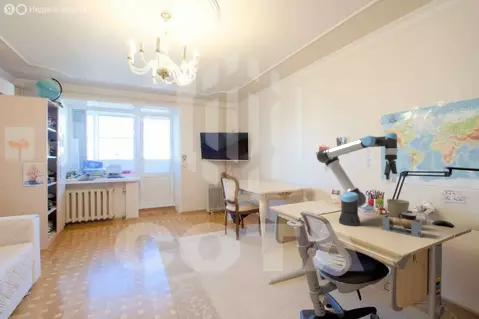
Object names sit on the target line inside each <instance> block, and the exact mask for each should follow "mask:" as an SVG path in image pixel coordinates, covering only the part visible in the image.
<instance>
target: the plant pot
mask: <svg viewBox="0 0 479 319" xmlns="http://www.w3.org/2000/svg"><path fill="white" fill-rule="evenodd" d="M386 203H387V208H388V211H389V212H388V213H389V215H390V216H393V217H395V218H399V214H400V218H401V219H402V215H401V214H402V213H408V211H409V206H410V201H408V200H405V199H399V198H398V199H396V198H392V199H391V198H388V199H386Z"/></svg>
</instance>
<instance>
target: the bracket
mask: <svg viewBox="0 0 479 319" xmlns="http://www.w3.org/2000/svg"><path fill="white" fill-rule="evenodd" d="M388 217H393V216H390V214H385V215H383V216H382V218H381V220H382V222H381V223H382V225H383V227H381V230H382V231H387V232H391V233H398V234H402V235H406V236H412V237H417V238H421V237H423V236H424V232H422V230H423V227H424V226H423V222H424V221H423V220H421V219H416V220H414V221H418V222H419V223H417V222H411V229H406V228H399V227H394V225H392V224H390V218H388Z"/></svg>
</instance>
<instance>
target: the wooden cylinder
mask: <svg viewBox="0 0 479 319" xmlns="http://www.w3.org/2000/svg"><path fill="white" fill-rule="evenodd" d="M388 218H390V224H392V225H393V226H399V227H403V228H404V227H409V228H411V222H417V223H419V222H418V221H413V220H407V219H401V218H395V217H388Z"/></svg>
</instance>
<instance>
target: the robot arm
mask: <svg viewBox="0 0 479 319" xmlns="http://www.w3.org/2000/svg"><path fill="white" fill-rule="evenodd" d="M374 147H375V148H379V147H382V148H383V147H384V160H386V161H385V167H384V173H383V175H384V176H385V185H391V183H392V184H393V183H395V184H396V183H397V174H398V171H397V162H396V161H397V160H398V150H399V149H398V134H397V133H396V132H391V133H389V132H388V133H387V132H386V133H385V134H384V136H372V135H366V136H364V137H362V138H359V139H356V140H353V141H350V142H347V143H344V144H341V145H338V146H334V147H331V148H330V147H328V148H324V149H320V150H318V152H317V153H316V159H317V161H318V162H319V163H323V164H325V166H326V167H328V168H329V169H330V171H331V172H332V173H333V175H334V177H335V178H336V180H337V181H338V183H339V185H340V186H341V188H342V189H343V191H344V192H342V193H341V197H340V204H341V205H340V206H341V208H340V209H341V210H340V211H341V212H340V215H339V217H338V223H339V224H341V225H344V226H349V227H350V226H351V227H353V226H354V227H355V226H356V227H358V226H361V219H360V216H359V208H360V207H362V206H364V205H365V204H366V201H367V197H366V195H365V194H364V192H362V191H360V189H359V187H355V185H354V184H353V182H352V180H351V178H350V177H349V176H348V175H347V173H346V171H345V169H344V168H343V167H342V164H340V158H339V157H340V156H342V155H346V154H350V153H352V152H357V151H359V150H363V149H367V148H374Z"/></svg>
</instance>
